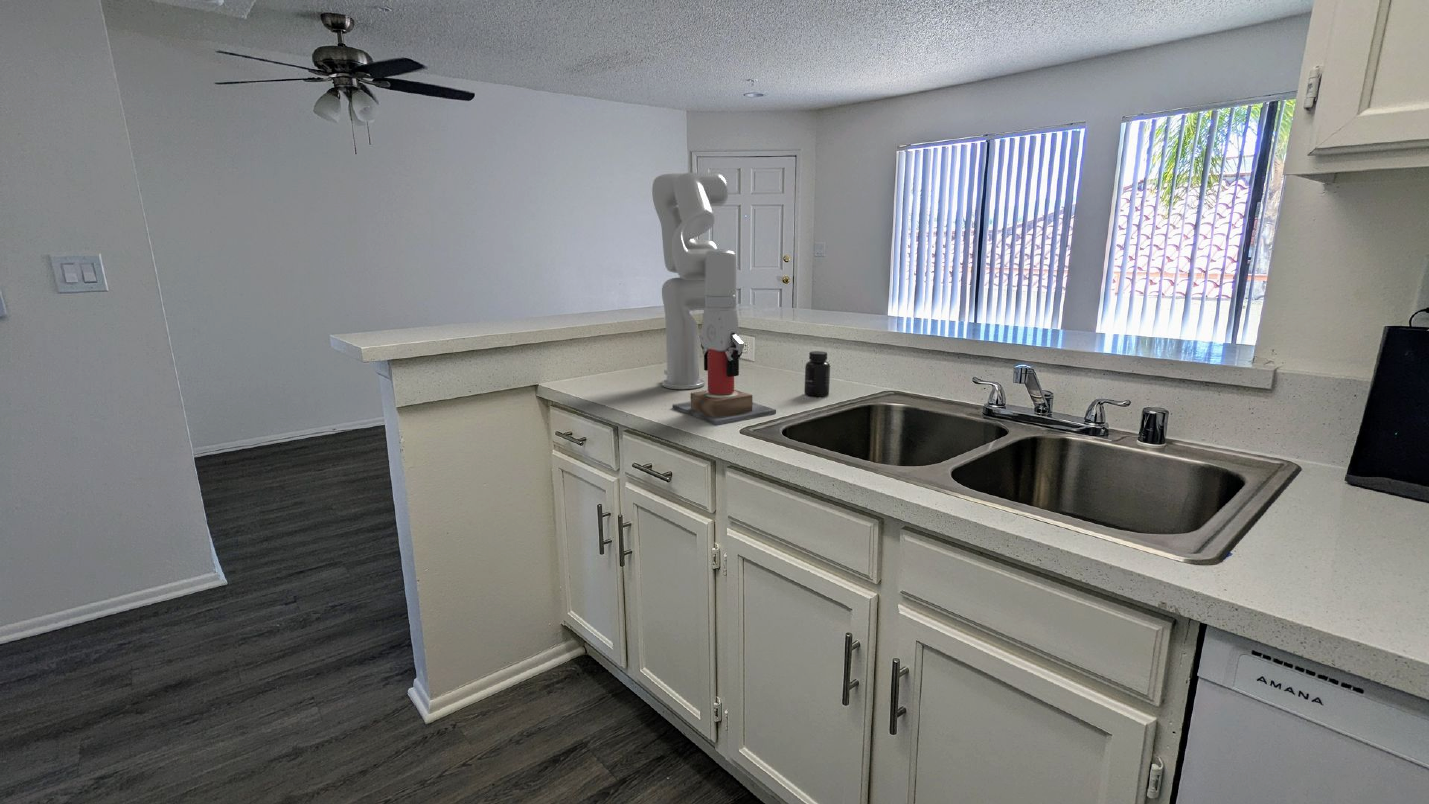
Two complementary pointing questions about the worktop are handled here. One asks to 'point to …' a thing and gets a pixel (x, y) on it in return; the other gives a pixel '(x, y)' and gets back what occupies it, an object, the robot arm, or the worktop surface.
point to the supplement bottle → (817, 375)
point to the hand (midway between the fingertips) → (721, 373)
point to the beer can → (719, 374)
